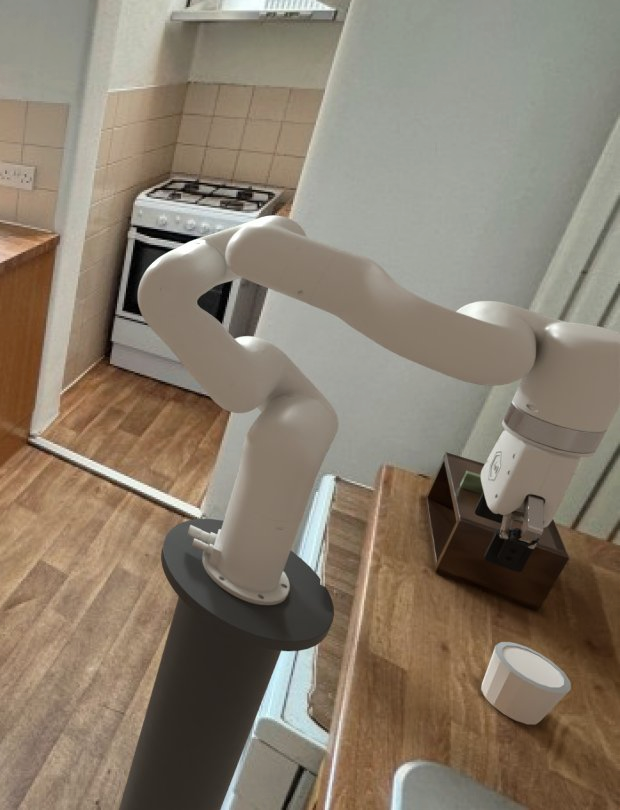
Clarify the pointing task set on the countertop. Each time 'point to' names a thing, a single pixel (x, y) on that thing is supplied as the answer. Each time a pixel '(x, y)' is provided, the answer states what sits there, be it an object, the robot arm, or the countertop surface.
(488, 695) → the white cylinder
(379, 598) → the countertop surface
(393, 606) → the countertop surface
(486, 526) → the tray
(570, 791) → the countertop surface
